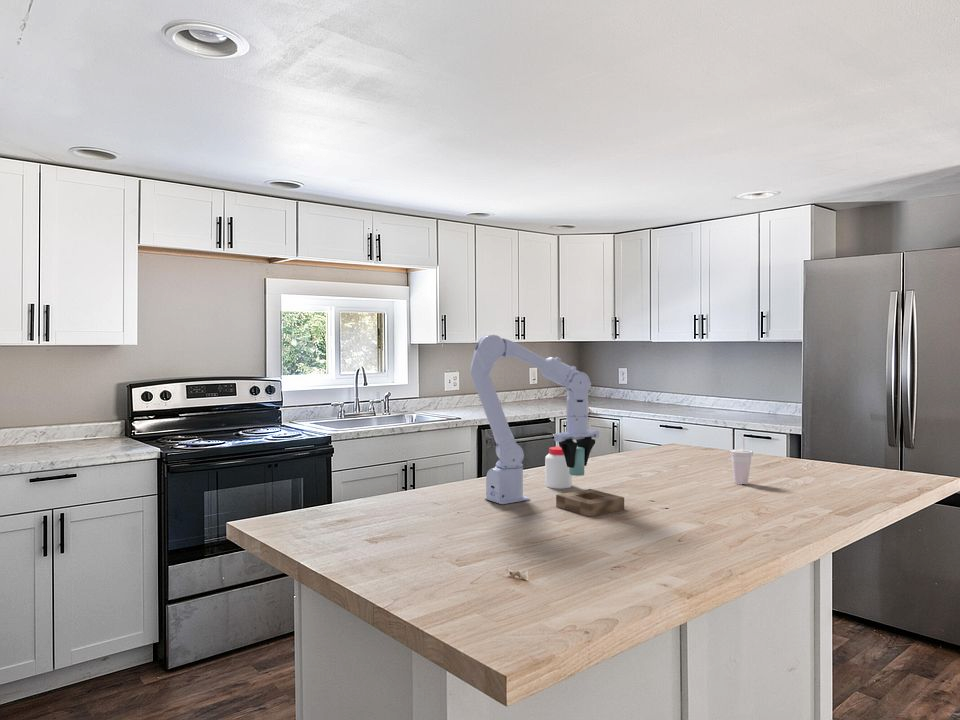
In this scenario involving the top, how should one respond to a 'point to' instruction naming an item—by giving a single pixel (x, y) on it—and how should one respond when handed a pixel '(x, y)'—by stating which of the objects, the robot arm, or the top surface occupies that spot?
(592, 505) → the socket block
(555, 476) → the pill bottle
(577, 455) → the dowel
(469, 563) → the top surface
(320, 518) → the top surface
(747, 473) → the smoothie
